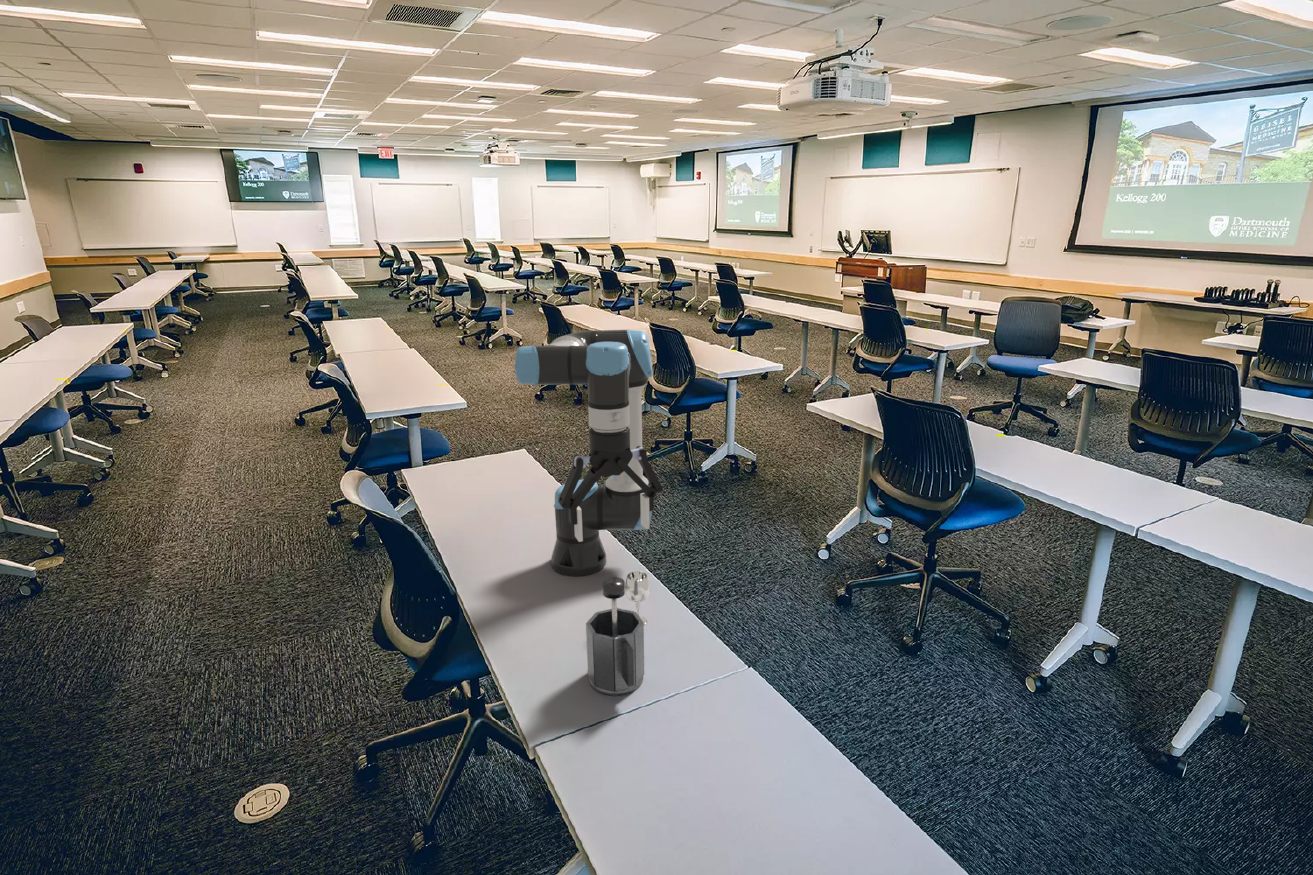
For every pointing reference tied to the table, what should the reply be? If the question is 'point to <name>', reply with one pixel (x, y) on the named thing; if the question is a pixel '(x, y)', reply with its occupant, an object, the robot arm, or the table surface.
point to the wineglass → (637, 589)
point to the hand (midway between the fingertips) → (612, 532)
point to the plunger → (613, 596)
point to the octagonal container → (615, 652)
